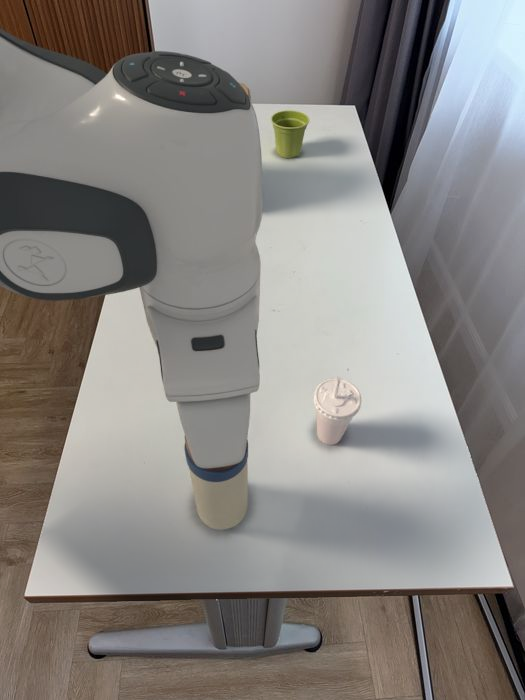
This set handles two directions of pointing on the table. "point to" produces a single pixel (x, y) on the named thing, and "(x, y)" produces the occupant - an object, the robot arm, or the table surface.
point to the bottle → (220, 493)
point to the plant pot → (289, 132)
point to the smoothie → (335, 408)
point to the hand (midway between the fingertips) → (211, 399)
